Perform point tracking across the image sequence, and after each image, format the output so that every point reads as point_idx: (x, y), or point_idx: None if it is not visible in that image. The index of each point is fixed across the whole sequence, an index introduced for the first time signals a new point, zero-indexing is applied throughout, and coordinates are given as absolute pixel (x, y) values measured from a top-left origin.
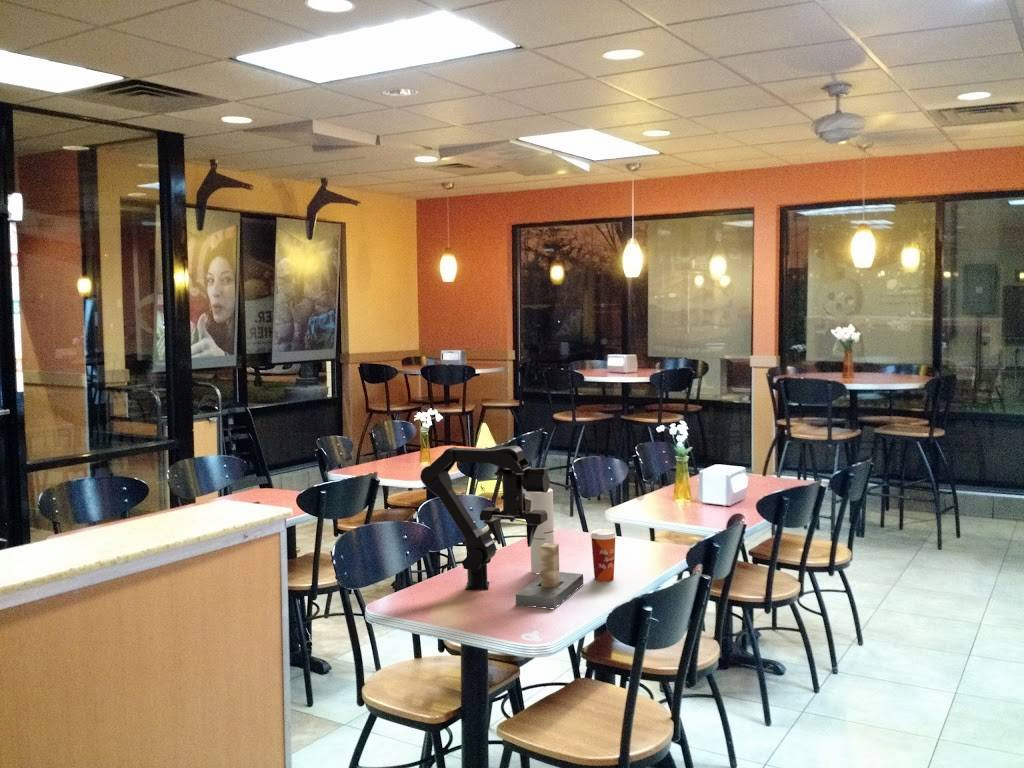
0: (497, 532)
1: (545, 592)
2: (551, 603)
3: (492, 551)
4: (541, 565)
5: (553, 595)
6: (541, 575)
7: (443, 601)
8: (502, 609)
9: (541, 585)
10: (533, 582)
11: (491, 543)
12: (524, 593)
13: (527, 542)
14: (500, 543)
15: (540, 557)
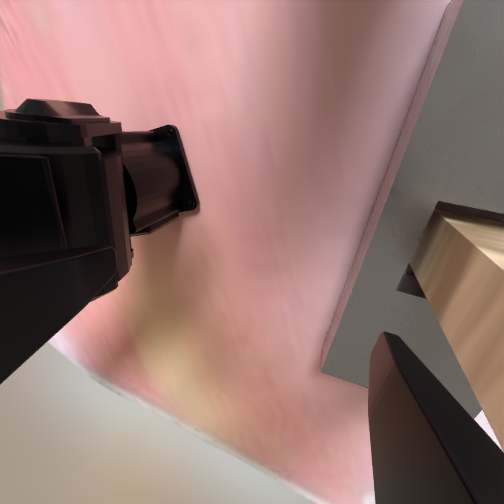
0: (6, 346)
1: (437, 365)
2: None
3: (108, 223)
4: (456, 347)
5: (472, 397)
6: (435, 309)
7: (134, 305)
8: (291, 368)
9: (420, 281)
10: (378, 243)
11: (55, 238)
12: (351, 366)
13: (371, 408)
14: (113, 254)
15: (472, 389)
